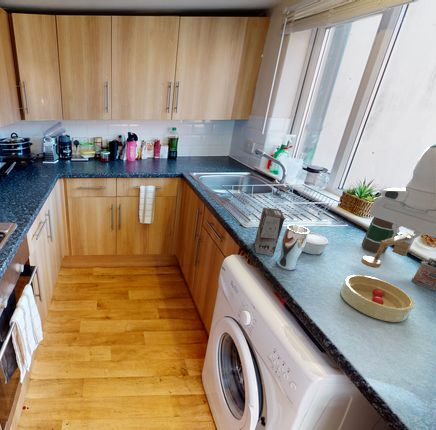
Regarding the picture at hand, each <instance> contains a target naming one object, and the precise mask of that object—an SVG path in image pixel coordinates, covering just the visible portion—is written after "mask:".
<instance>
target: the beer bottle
mask: <svg viewBox="0 0 436 430" xmlns="http://www.w3.org/2000/svg"><path fill="white" fill-rule="evenodd" d="M392 225H393V223H391V222H388V221H385V220H382V219H379V218H376V217H374V216H373V218H372V219H371V222H370V223H369V226H368V228H367V231H366V233H365V235H364V237H363V239H362V242H361V247H362V249H364V250H366V251H368V252H369V253H373V254H374V253H375V254H376V253H377V251H378V249H379V247H380V243H381V241H383V240H386V239H389V238H392V236H393V234H394V232H393V228H392ZM388 248H389V246H388V247H384V249H383V251H382V253H381V254H384V253H386V251H388Z"/></svg>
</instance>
